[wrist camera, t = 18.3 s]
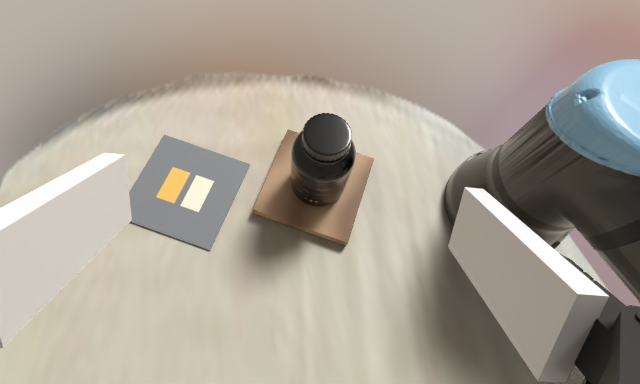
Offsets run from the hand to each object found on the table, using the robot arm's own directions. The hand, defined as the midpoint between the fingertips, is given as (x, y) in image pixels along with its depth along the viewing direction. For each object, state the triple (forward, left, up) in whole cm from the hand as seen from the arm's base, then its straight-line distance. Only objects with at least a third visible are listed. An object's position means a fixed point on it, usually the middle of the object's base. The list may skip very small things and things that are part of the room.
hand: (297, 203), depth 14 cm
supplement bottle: (+1, -14, -28) cm, 32 cm away
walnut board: (+1, -14, -30) cm, 33 cm away
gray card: (+16, -8, -30) cm, 35 cm away
